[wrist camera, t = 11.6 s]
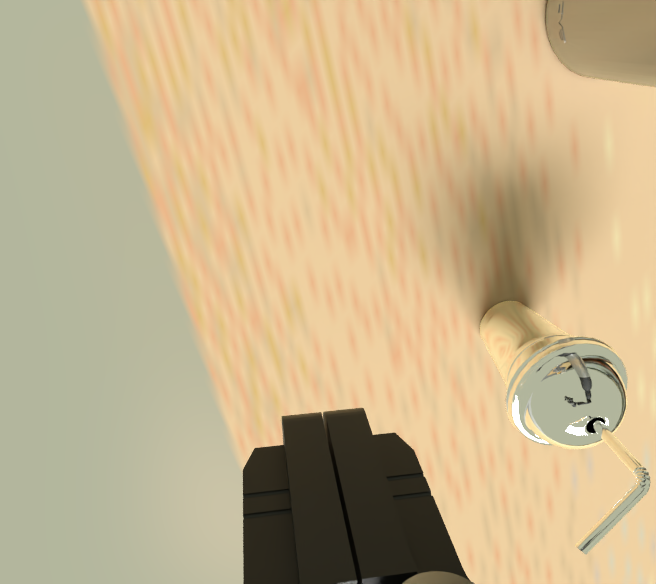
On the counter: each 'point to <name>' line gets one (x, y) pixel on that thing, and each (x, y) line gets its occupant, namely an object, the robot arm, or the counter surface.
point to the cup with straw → (563, 393)
